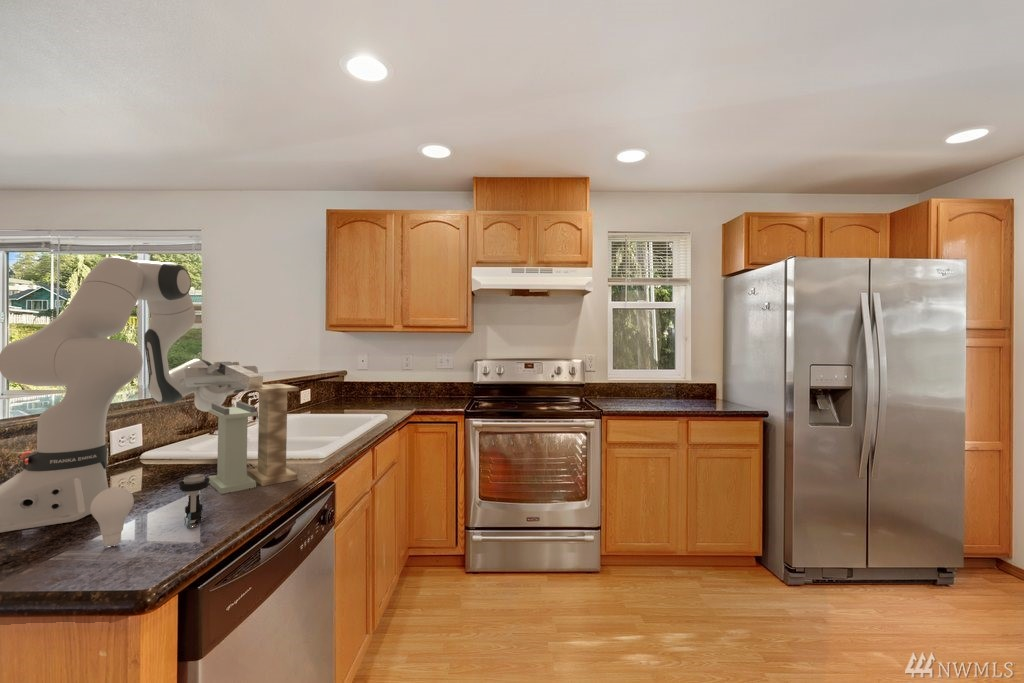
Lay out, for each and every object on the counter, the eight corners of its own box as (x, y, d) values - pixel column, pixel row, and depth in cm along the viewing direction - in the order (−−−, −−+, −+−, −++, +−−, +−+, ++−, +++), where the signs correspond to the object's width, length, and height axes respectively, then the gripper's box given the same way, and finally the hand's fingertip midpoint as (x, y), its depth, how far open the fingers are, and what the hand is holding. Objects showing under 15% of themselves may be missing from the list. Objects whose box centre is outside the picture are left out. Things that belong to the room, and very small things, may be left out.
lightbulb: (114, 538, 88) (115, 482, 88) (141, 540, 87) (142, 483, 87) (80, 552, 82) (81, 492, 82) (109, 555, 81) (110, 494, 81)
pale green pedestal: (221, 494, 114) (222, 409, 114) (208, 481, 124) (209, 403, 124) (256, 487, 120) (257, 406, 120) (240, 476, 130) (242, 401, 130)
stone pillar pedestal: (262, 486, 121) (263, 389, 121) (246, 474, 131) (248, 385, 131) (297, 479, 127) (298, 387, 127) (279, 469, 137) (281, 383, 137)
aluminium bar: (249, 387, 125) (249, 376, 125) (216, 371, 141) (217, 361, 141) (262, 386, 128) (263, 376, 127) (229, 370, 144) (229, 361, 144)
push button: (207, 527, 93) (208, 479, 94) (175, 532, 91) (176, 483, 91) (209, 517, 99) (210, 471, 99) (179, 521, 96) (180, 474, 97)
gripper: (177, 376, 142) (185, 355, 134) (250, 374, 157) (261, 354, 148) (179, 394, 140) (187, 374, 132) (252, 390, 154) (264, 371, 146)
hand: (227, 363), depth 140 cm, fingers closed on aluminium bar, 4 cm apart
